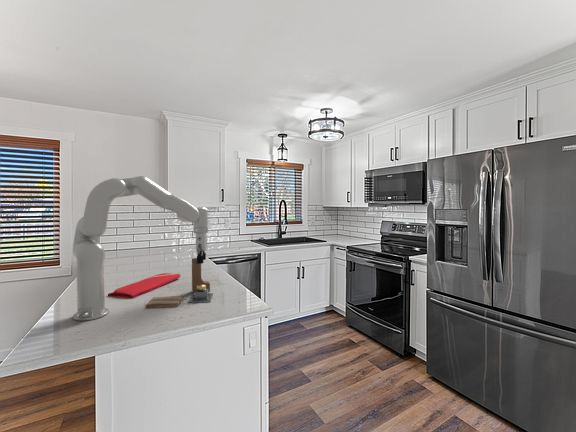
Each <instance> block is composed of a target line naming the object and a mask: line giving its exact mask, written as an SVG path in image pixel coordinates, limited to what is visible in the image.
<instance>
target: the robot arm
mask: <svg viewBox="0 0 576 432" xmlns="http://www.w3.org/2000/svg"><path fill="white" fill-rule="evenodd" d="M135 195H140V196H141V197H143V198H144V199H146V200H147V201H149V202H150V203H152V204H154V205H155V206H157V207H159V208H160V209H164V210H168V211H170V212H173V213H175V214H176V218H177V219H178V220H179V221H181V222H184V223H192V224H193V225H192V226H193V231H192V232H193V234H194V235H195V251H196V258H197V264H201V265H202V264H204V261H206V258H207V256H206V255H207V254H206V251H207V250H208V238H207V237H208V236H207V233H209V221H208V219H209V218H208V213H209V212H208V209H207V207H205V206H204V207H203V206H202V207H195V206H193V205H192V204H190V203H189V202H188V201H186V200H184V199H183V198H181V197H178V196H177V195H175V194H173V193H171V192H169V191H168V190H166V188H164V187H162V186H160V185H158V184H157V183H156V182H155V181H153V180H151V179H150V178H148V177H146V176H143V175H140V176H139V175H137V176H134V177H128V178H118V177H117V178H116V177H114V178H109V179H106V180H103V181H102V182H99V183H98V184H96V186H94V187H93V188H92V189H91V191H90V192H89V194H88V197H87V199H86V203H85V207H84V210H83V211H84V212H83V216H82V217H81V218H80V219H79V220H78V221H77V223H76V227H75V232H74V237H73V244H72V254H73V256H74V257H75V258H76V301H77V303H76V304H77V310H76V311H77V312H75V313H74V314H73V315H72V319H73V320H74V321H80V322H81V321H82V322H83V321H92V320H96V319H99V318H103V317H105V316H107V315H108V314H109V312H110V310H109V308H107V307H106V306H105V275H104V274H105V257H106V255H105V248H104V247H103V245H102V244H100V241H101V240H100V239H101V236H103V235H104V234H105V233H106V230H107V226H108V217H109V216H108V215H109V211H110V208H111V204H112V202H113V201H114V200H115V199H117V198H122V197H130V196H135Z"/></svg>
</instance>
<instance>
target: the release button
mask: <svg viewBox="0 0 576 432" xmlns="http://www.w3.org/2000/svg"><path fill="white" fill-rule="evenodd" d="M197 290H198V291H203V290H206V285H204V284H201V285H197Z"/></svg>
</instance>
